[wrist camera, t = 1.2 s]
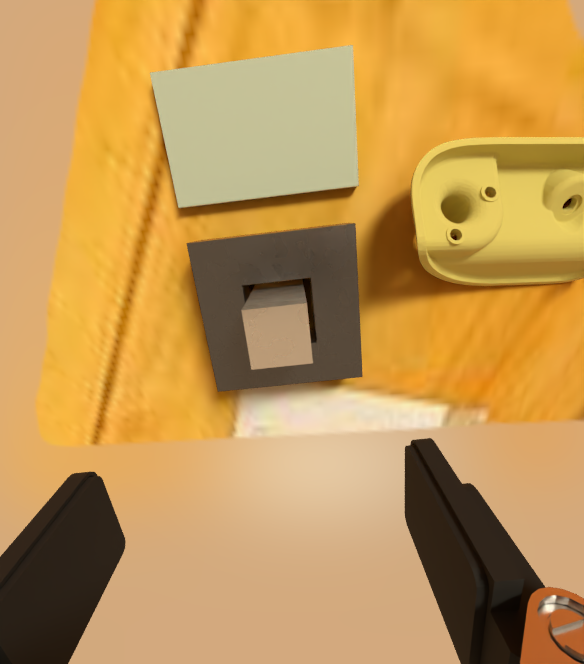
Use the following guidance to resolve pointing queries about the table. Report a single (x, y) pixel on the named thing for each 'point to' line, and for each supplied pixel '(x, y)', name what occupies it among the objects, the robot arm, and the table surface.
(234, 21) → the table surface
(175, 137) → the sage mat
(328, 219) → the table surface
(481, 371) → the table surface
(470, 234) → the plastic component
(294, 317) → the beige peg
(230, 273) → the socket block
